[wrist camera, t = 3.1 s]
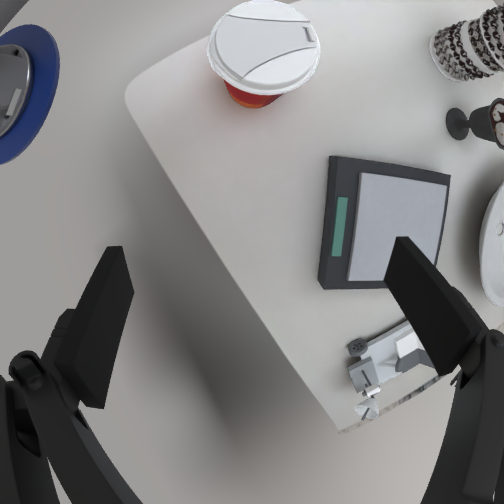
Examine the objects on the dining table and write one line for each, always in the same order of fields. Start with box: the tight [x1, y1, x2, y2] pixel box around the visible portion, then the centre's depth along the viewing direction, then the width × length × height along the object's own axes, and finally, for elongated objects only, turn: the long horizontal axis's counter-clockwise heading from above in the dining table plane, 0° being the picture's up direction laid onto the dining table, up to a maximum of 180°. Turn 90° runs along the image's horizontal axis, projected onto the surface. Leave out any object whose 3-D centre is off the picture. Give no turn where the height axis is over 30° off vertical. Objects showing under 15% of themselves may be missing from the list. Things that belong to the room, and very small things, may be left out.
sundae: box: [446, 98, 504, 150], centre depth 26 cm, size 7×7×15 cm
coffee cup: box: [206, 0, 320, 108], centre depth 24 cm, size 8×8×15 cm
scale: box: [318, 156, 451, 290], centre depth 35 cm, size 17×16×4 cm
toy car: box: [347, 320, 435, 420], centre depth 39 cm, size 18×10×12 cm
